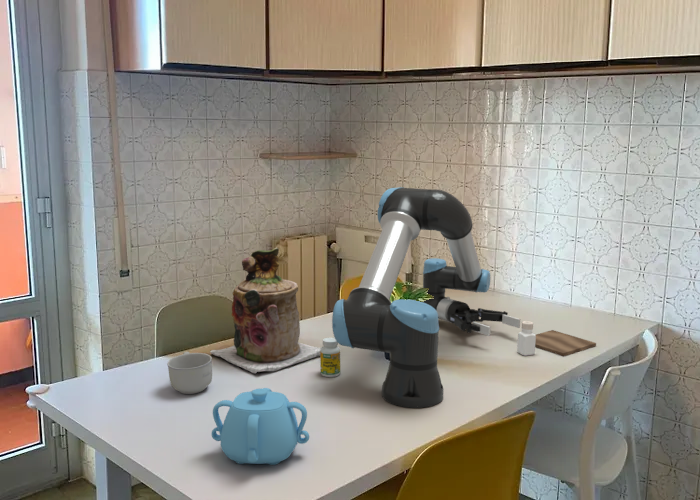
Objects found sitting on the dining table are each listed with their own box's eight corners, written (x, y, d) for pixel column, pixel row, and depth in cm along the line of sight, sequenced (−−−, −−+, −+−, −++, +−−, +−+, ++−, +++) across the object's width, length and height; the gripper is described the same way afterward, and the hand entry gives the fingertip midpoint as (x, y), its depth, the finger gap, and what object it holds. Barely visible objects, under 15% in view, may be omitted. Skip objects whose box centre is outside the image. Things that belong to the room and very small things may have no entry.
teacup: (212, 396, 167) (211, 365, 166) (166, 399, 166) (165, 368, 164) (213, 376, 181) (212, 347, 179) (171, 378, 179) (170, 349, 178)
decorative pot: (276, 429, 150) (275, 370, 148) (315, 458, 137) (315, 394, 135) (207, 449, 141) (205, 386, 139) (242, 482, 128) (240, 413, 126)
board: (563, 356, 198) (563, 353, 198) (519, 342, 210) (519, 338, 210) (596, 346, 207) (596, 342, 207) (552, 332, 220) (552, 329, 220)
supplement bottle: (340, 370, 186) (340, 336, 184) (340, 377, 180) (340, 342, 179) (320, 370, 185) (320, 336, 184) (320, 377, 180) (320, 342, 178)
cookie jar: (274, 337, 214) (272, 236, 208) (327, 356, 197) (327, 247, 191) (206, 355, 197) (203, 246, 191) (258, 378, 180) (256, 259, 174)
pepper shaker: (523, 356, 198) (525, 325, 196) (516, 352, 201) (517, 321, 200) (535, 355, 199) (537, 323, 197) (527, 350, 203) (529, 320, 201)
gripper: (426, 306, 214) (476, 322, 197) (480, 294, 229) (532, 308, 212) (425, 329, 216) (475, 347, 199) (479, 316, 230) (530, 332, 214)
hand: (504, 327), depth 206 cm, fingers open, 13 cm apart
